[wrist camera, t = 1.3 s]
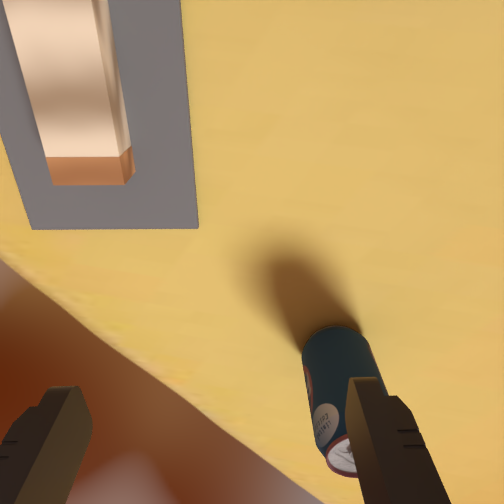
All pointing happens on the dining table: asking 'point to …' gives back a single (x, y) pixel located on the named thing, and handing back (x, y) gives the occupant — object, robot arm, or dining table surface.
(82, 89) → the tan rectangular block
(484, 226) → the dining table surface
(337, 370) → the soda can
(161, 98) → the mat
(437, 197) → the dining table surface
